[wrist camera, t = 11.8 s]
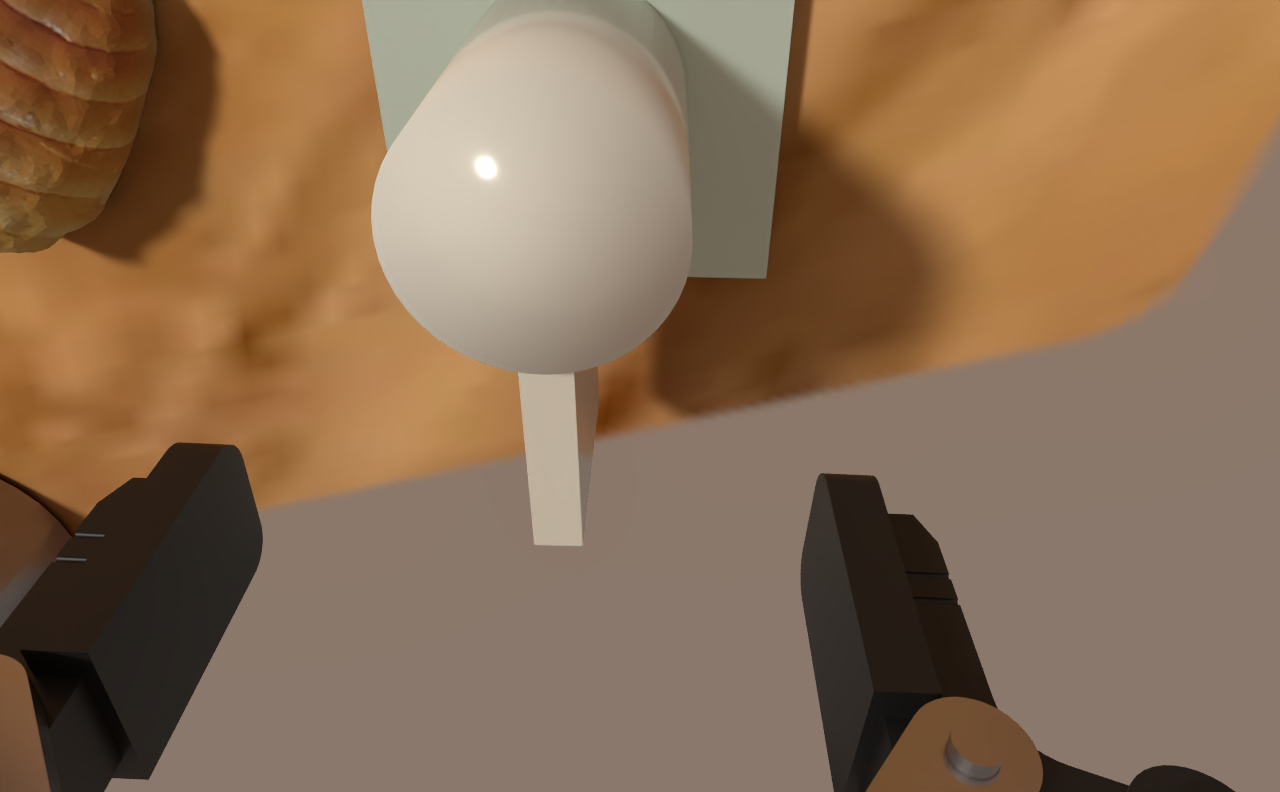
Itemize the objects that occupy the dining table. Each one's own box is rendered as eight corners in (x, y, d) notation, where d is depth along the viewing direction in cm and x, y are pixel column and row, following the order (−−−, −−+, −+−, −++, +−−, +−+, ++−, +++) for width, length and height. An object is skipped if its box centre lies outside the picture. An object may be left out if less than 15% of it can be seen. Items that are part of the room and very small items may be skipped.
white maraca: (450, -31, 22) (342, 78, 15) (690, -29, 22) (699, 82, 15) (493, 354, 29) (434, 557, 22) (677, 357, 29) (679, 563, 22)
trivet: (764, 269, 28) (766, 278, 27) (411, 261, 28) (407, 271, 27) (806, -144, 21) (809, -142, 21) (345, -149, 21) (337, -147, 21)
